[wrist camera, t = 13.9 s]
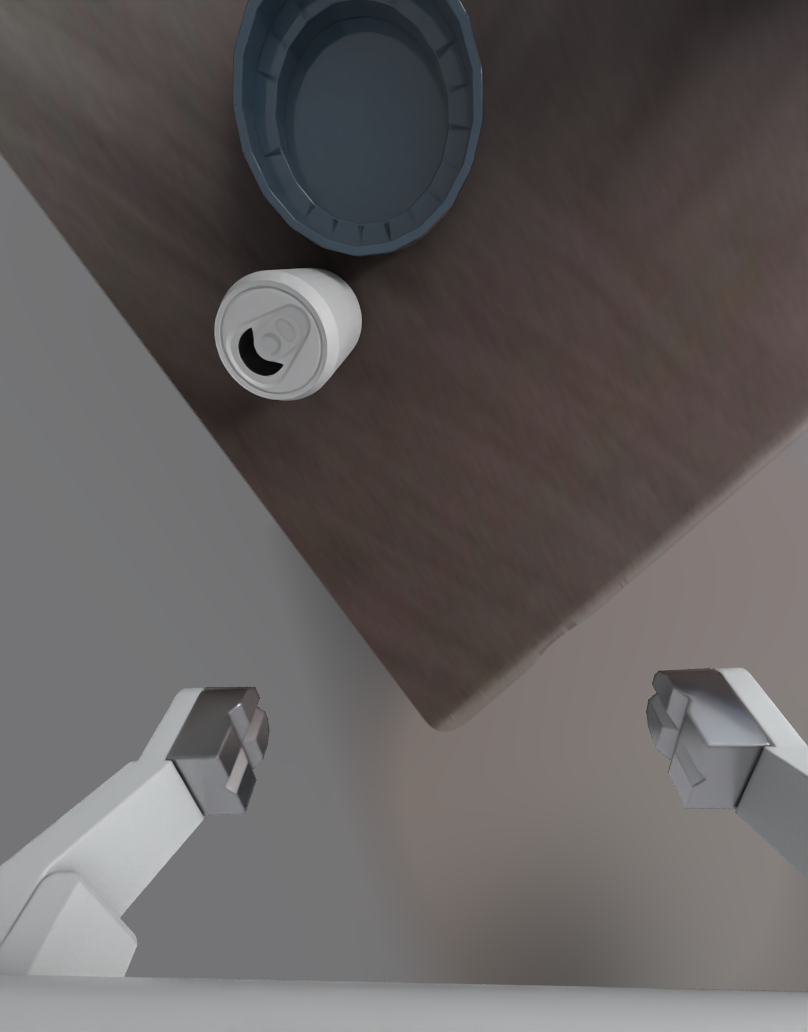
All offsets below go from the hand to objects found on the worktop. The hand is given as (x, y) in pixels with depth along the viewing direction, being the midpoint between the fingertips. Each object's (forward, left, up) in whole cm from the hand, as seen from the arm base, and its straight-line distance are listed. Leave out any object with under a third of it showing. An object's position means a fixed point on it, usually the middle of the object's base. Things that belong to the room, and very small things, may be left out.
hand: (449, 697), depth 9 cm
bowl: (+3, -15, -29) cm, 33 cm away
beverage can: (+8, -5, -29) cm, 31 cm away
